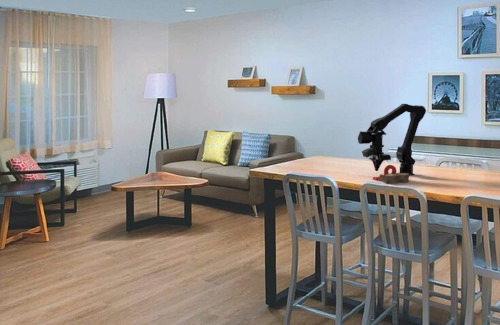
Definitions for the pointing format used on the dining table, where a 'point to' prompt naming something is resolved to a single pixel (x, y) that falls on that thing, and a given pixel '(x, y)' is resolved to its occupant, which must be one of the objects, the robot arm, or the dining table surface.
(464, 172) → the dining table surface
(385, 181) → the cradle
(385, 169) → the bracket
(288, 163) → the dining table surface
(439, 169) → the dining table surface
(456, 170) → the dining table surface
